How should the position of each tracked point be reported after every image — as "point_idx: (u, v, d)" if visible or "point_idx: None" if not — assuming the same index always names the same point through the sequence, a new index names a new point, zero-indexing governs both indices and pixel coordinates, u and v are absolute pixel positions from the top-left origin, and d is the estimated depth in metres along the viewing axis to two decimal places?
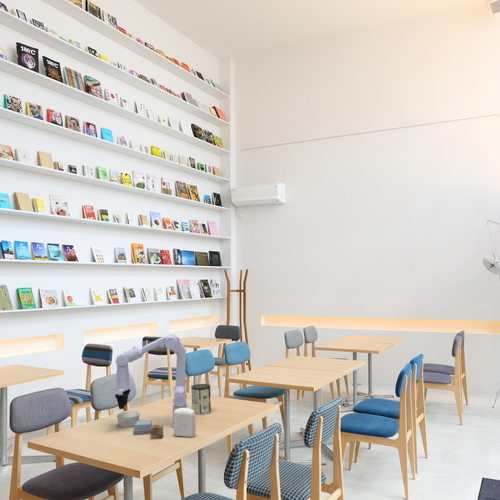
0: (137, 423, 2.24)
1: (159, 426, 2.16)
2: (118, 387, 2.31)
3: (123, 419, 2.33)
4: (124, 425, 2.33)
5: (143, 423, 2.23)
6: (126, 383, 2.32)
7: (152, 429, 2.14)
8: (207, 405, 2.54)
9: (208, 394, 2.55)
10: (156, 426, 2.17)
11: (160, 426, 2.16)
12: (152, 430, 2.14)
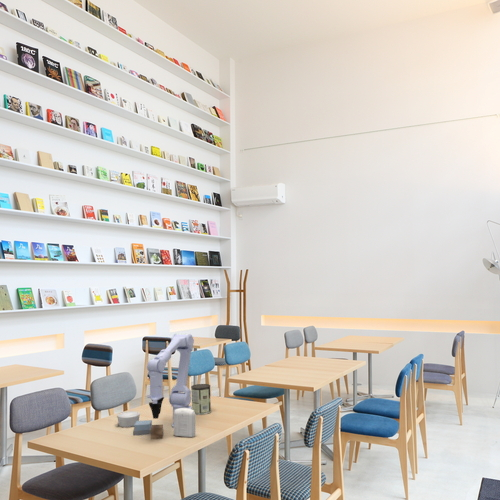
0: (137, 423, 2.23)
1: (159, 426, 2.16)
2: (152, 395, 2.15)
3: (123, 419, 2.33)
4: (124, 425, 2.33)
5: (143, 423, 2.23)
6: (160, 391, 2.16)
7: (152, 429, 2.14)
8: (207, 405, 2.54)
9: (208, 394, 2.55)
10: (156, 426, 2.17)
11: (160, 426, 2.16)
12: (152, 430, 2.14)
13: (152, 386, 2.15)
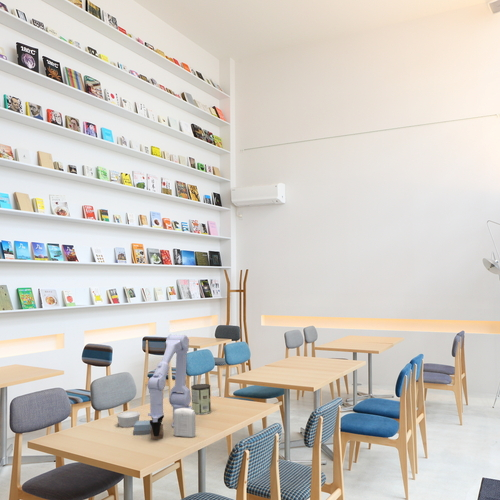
0: (137, 423, 2.23)
1: None
2: (152, 413, 2.15)
3: (123, 419, 2.33)
4: (124, 425, 2.33)
5: (143, 423, 2.23)
6: (161, 408, 2.16)
7: (152, 429, 2.14)
8: (207, 405, 2.54)
9: (208, 394, 2.55)
10: None
11: (160, 426, 2.16)
12: (152, 430, 2.14)
13: (152, 404, 2.15)
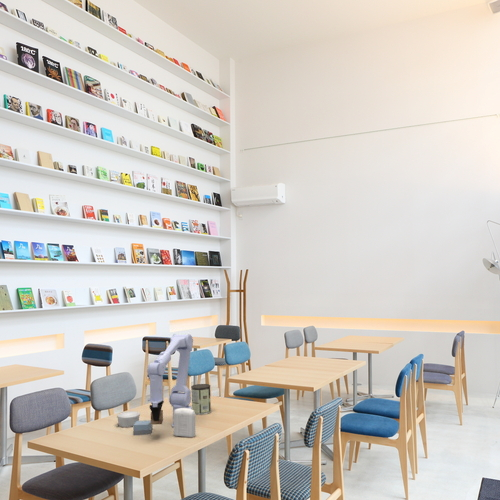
0: (136, 423, 2.24)
1: None
2: (152, 398, 2.15)
3: (123, 419, 2.33)
4: (124, 425, 2.33)
5: (142, 423, 2.23)
6: (160, 394, 2.16)
7: None
8: (207, 405, 2.54)
9: (208, 394, 2.55)
10: None
11: (160, 411, 2.17)
12: (152, 415, 2.14)
13: (152, 389, 2.15)
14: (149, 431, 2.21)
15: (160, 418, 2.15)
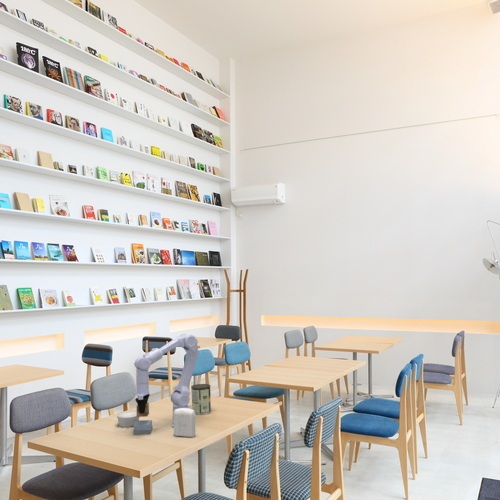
0: (136, 423, 2.24)
1: None
2: (138, 391, 2.24)
3: (123, 419, 2.33)
4: (124, 425, 2.33)
5: (142, 423, 2.23)
6: (146, 387, 2.24)
7: None
8: (207, 405, 2.54)
9: (208, 394, 2.55)
10: None
11: (146, 404, 2.25)
12: (138, 408, 2.23)
13: (136, 382, 2.25)
14: (149, 431, 2.21)
15: (146, 410, 2.23)
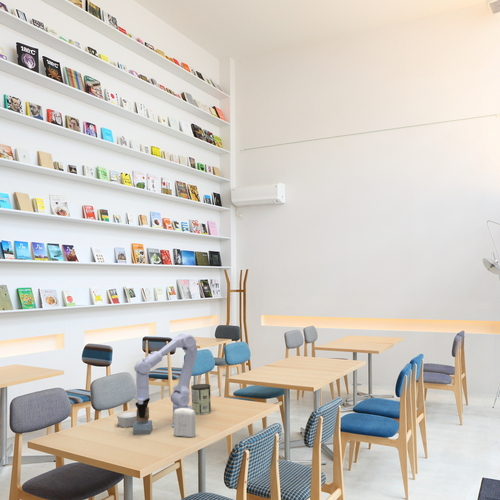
0: (136, 423, 2.24)
1: None
2: (138, 396, 2.23)
3: (123, 419, 2.33)
4: (124, 425, 2.33)
5: (142, 423, 2.23)
6: (146, 391, 2.24)
7: None
8: (207, 405, 2.54)
9: (208, 394, 2.55)
10: None
11: (146, 408, 2.25)
12: (138, 412, 2.23)
13: (136, 387, 2.25)
14: (149, 431, 2.21)
15: (146, 415, 2.23)
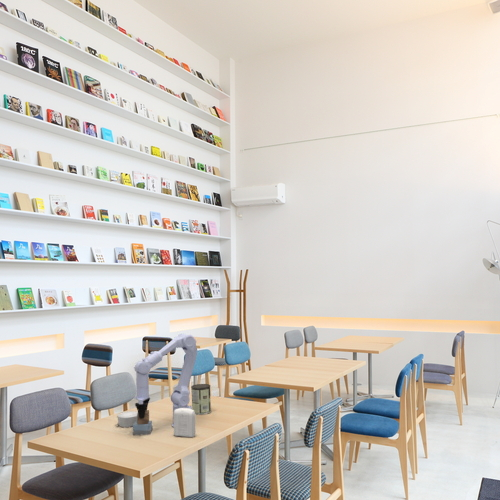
0: (136, 423, 2.24)
1: (145, 412, 2.25)
2: (138, 396, 2.23)
3: (123, 419, 2.33)
4: (124, 425, 2.33)
5: None
6: (146, 391, 2.24)
7: (138, 414, 2.23)
8: (207, 405, 2.54)
9: (208, 394, 2.55)
10: None
11: (146, 412, 2.25)
12: (138, 415, 2.23)
13: (136, 387, 2.25)
14: (149, 431, 2.21)
15: (146, 418, 2.23)
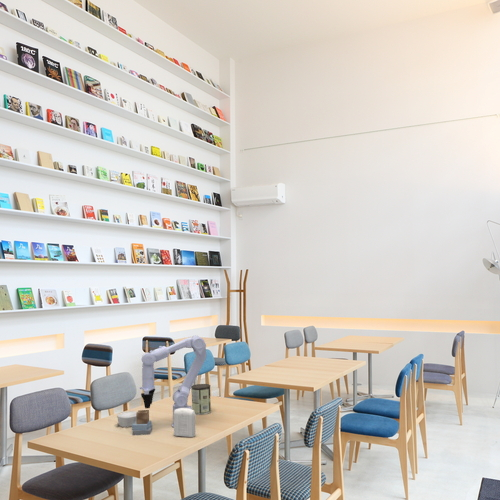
0: (135, 423, 2.24)
1: (145, 411, 2.25)
2: (144, 386, 2.30)
3: (123, 419, 2.33)
4: (124, 425, 2.33)
5: None
6: (152, 382, 2.31)
7: (137, 414, 2.23)
8: (207, 405, 2.54)
9: (208, 394, 2.55)
10: (142, 411, 2.26)
11: (145, 411, 2.25)
12: (137, 415, 2.23)
13: (142, 377, 2.32)
14: (148, 431, 2.21)
15: (145, 418, 2.23)
